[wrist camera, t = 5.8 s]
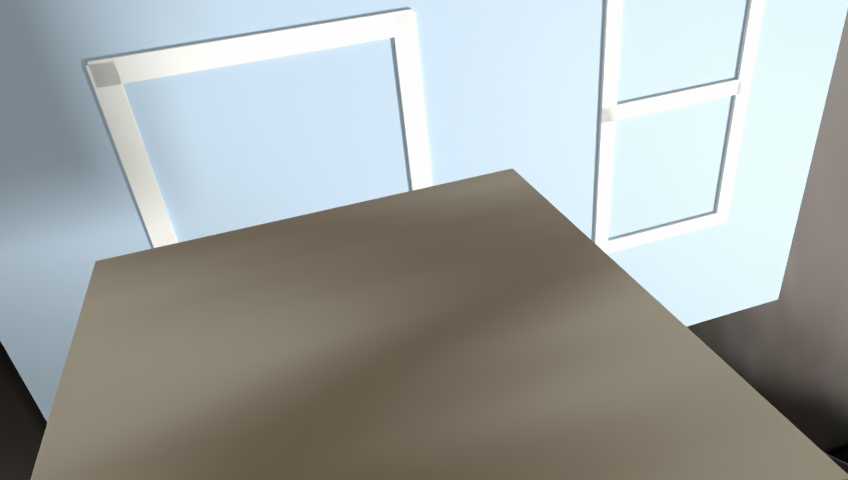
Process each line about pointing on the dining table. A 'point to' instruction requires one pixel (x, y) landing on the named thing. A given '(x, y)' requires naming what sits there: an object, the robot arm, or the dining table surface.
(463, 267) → the birch block
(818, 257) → the dining table surface
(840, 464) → the robot arm
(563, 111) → the blueprint board
